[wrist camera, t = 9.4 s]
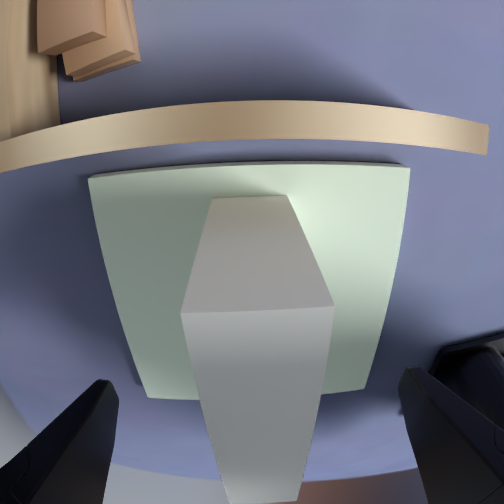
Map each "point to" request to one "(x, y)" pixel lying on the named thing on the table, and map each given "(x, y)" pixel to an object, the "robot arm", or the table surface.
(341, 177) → the mat
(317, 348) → the white block
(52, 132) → the rack
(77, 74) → the offcut stack
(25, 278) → the table surface
